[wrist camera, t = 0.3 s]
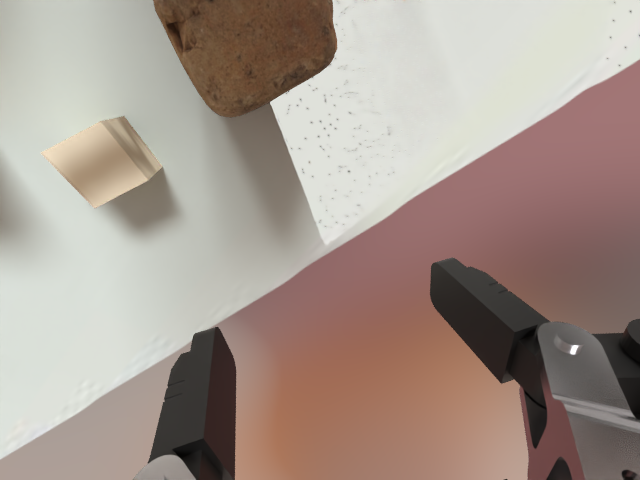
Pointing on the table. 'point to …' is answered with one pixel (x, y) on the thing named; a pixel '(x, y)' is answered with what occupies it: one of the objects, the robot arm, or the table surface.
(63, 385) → the table surface
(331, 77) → the table surface
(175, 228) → the table surface
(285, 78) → the block
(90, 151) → the light wooden cube
